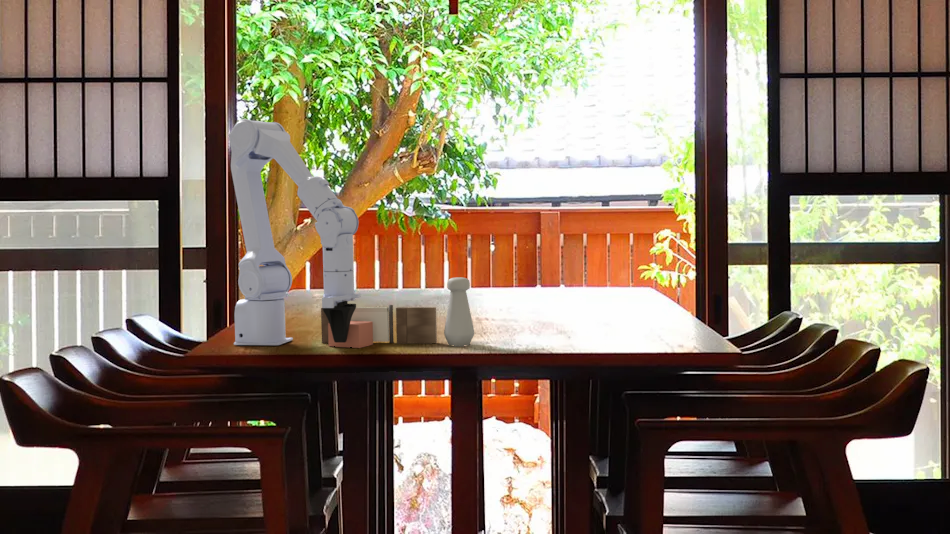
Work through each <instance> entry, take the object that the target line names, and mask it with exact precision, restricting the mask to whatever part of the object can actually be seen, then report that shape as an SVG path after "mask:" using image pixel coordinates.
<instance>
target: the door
mask: <svg viewBox="0 0 950 534" xmlns="http://www.w3.org/2000/svg"><path fill="white" fill-rule="evenodd" d="M351 321H370V322H373V342H378V343H379V342H384V343H385V342H387V343H389V342H390V341H389V306H387V307H386V306H381V307H380V306H377V307H376V306H356V309H355V311H354V313H353V315H352V318H351Z"/></svg>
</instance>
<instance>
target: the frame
mask: <svg viewBox="0 0 950 534" xmlns="http://www.w3.org/2000/svg"><path fill="white" fill-rule="evenodd" d="M388 307H389V341H388V342H389V344H394V305H393V304H389V305H388ZM320 317H321V319H320V320H321V323H320V325H321V343H322V344H329V343H328V323H329V321H328V319H327V317H326V315H325V313H324V311H323V308H322V307H320ZM395 323H396V325H395V328H396V344H398V345H399V344H402V345H403V344H404V345H405V344H428V345H429V344H431V345H432V343H436V344H437V343H438V342H437V341H438V340H437V339H438V338H437V337H438V335H437V334H438V333H437V331H438V330H437V328H438V327H437V325H438V324H437V306H434V307H433V306H432V307H431V306H430V307H429V306H428V307H427V306H426V307H425V306H421V307H420V306H419V307H418V306H415V307H413V306H411V307H410V306H397V307H396V308H395Z"/></svg>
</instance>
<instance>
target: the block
mask: <svg viewBox="0 0 950 534" xmlns="http://www.w3.org/2000/svg"><path fill="white" fill-rule="evenodd" d="M327 344H328V347H334V346H335V347H338V348H350V347H352V348H354V349H360V348H361V349H362V348H365V347H369V346H373V345H374V341H373V322H370V321H350V325H349V331H348V336H347V340H346V342H334V339H333V335H332V331H331V327H330V324H329V323H328V343H327Z"/></svg>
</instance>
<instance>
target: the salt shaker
mask: <svg viewBox="0 0 950 534" xmlns="http://www.w3.org/2000/svg"><path fill="white" fill-rule="evenodd" d="M470 286H471V283H470V280H469V279H468V278H466V277H460V276H459V277H451V278H449V279H448V280H447V283H446V287H447V290H449V291H450V293H449V299H448V305H447V312H446V317H445V325H444V332H443V335H444V337H445V339H446V343H448V344H449V345H448V346H450V345H454V346H453V347H465V346H464V345H468V346H470V344H471V342H472V340H473V337H474V335H475V327H474V323H473V318H472V313H471V310H470V309H471V308H470V305H469V303H470V302H469V299H468V293H467V291H468V290H470Z"/></svg>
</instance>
